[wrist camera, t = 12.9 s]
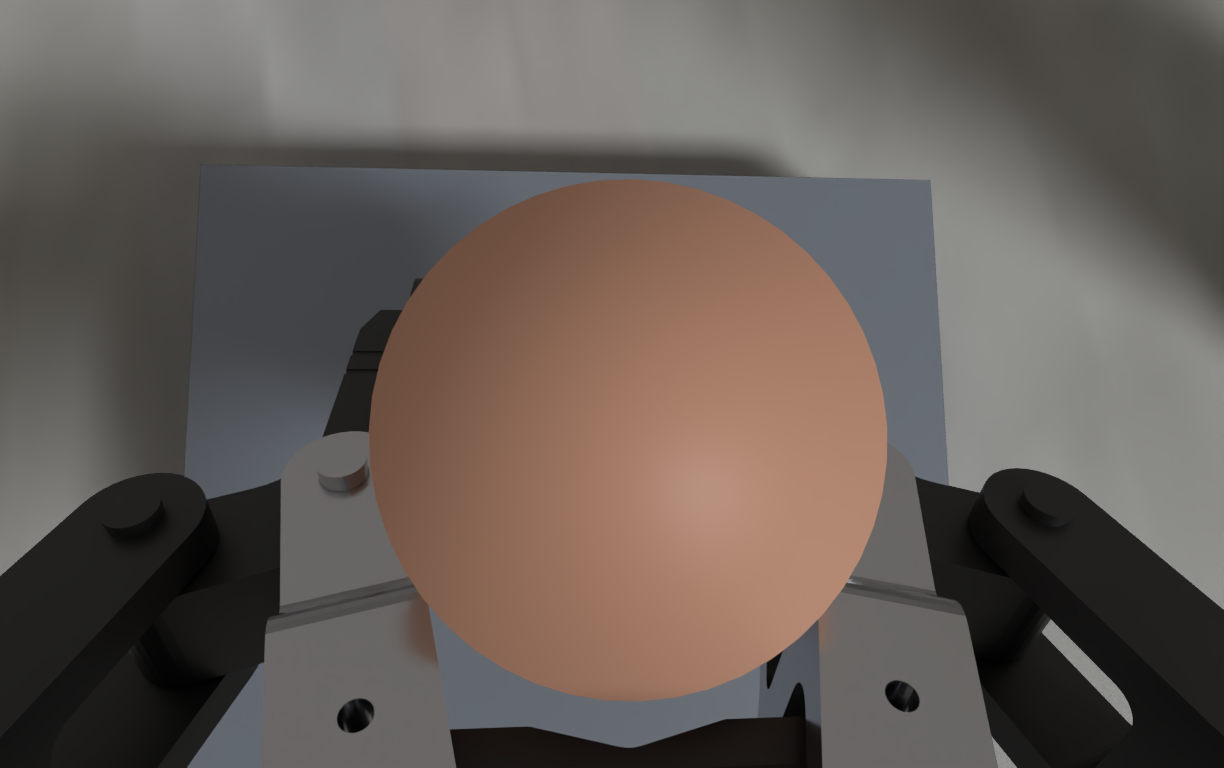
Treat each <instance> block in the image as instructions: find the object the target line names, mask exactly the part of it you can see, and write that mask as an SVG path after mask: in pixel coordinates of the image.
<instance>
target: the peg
mask: <svg viewBox="0 0 1224 768" xmlns="http://www.w3.org/2000/svg"><path fill="white" fill-rule="evenodd" d="M369 450H370V469H371V474H372V480H373V486H374V491H375V497H376V502H377V505H378V508H379V512H380V515H381V518H382V521H383V524H384V527H385V530H386V533H387V536H388V538H389V540H390V543H391V545H392V547H393V549H394V551H395V553H396V555H397V557H398V559H399V561H400V563H401V566H402V568H403V569H404V571H405V572H406V574H407V575H408V577H409V578H410V580H411V581H412V583H413V584H414V586H415V588H416V589H417V591H418V592H419V594H420V595H421V597H422V598H423V599H424V600H425V602H426V603H427V604H428V605H429V606H430V607H431V608H432V610H433V611H434V612H435V613H436V614H437V615H438V616H439V618H440V619H441V620H442V621H443V622H444V623H445V624H446V626H448V627H449V628H450V629H451V630H452V631H453V632H454V633H456V634H457V635H458V636H459V637H460V638H461V639H463V640H464V641H465V642H466V643H467V644H468V645H469V646H471V647H472V648H473V649H474V650H476V651H477V652H479V653H480V654H482V655H483V656H485V657H487V658H488V659H490V660H491V661H493V662H494V663H496V664H497V665H499V666H500V667H502V668H503V669H505V670H508V671H510V672H512V673H514V674H516V675H518V676H520V677H522V678H524V679H527V680H529V681H531V682H533V683H535V684H538V685H541V686H544V687H547V688H551V689H554V690H557V691H560V692H563V693H567V694H570V695H576V696H582V697H588V698H594V699H599V700H608V701H649V700H658V699H667V698H676V697H680V696H684V695H688V694H692V693H696V692H700V691H704V690H708V689H711V688H713V687H716V686H718V685H721V684H723V683H726V682H728V681H731V680H733V679H736V678H738V677H741V676H743V675H745V674H746V673H748V672H750V671H752V670H753V669H755V668H757V667H759V666H760V665H762V664H764V663H766V662H767V661H769V660H771V659H772V658H774V657H775V656H776V655H778V654H779V653H780V652H782V651H783V650H784V649H786V648H787V647H788V646H789V645H791V644H792V643H793V642H795V641H796V640H797V639H799V638H800V637H801V636H802V635H803V634H804V633H805V632H806V631H807V630H808V629H809V628H810V627H811V626H812V625H813V624H814V623H815V622H816V621H817V620H818V619H819V618H820V617H821V616H822V615H823V614H824V612H825V611H826V610H827V608H828V607H829V606H830V605H831V603H832V602H833V601H834V599H835V598H836V597H837V595H838V594H839V593H840V591H841V590H842V589H843V588H844V586H845V584H846V583H847V581H848V579H849V577H850V576H851V574H852V572H853V570H854V569H855V567H856V565H857V563H858V562H859V560H860V558H861V556H862V554H863V551H864V549H865V546H866V544H867V542H868V539H869V537H870V534H871V532H872V529H873V527H874V524H875V520H876V516H877V512H878V509H879V505H880V501H881V498H882V494H883V486H884V479H885V472H886V464H887V422H886V413H885V405H884V396H883V392H882V388H881V383H880V379H879V375H878V371H877V367H876V363H875V361H874V358H873V355H872V353H871V350H870V348H869V345H868V342H867V340H866V337H865V335H864V332H863V330H862V328H861V326H860V325H859V323H858V321H857V319H856V317H855V315H854V313H853V312H852V310H851V308H850V306H849V304H848V302H847V301H846V300H845V298H844V297H843V295H842V294H841V293H840V291H839V290H838V288H837V287H836V286H835V284H834V283H833V281H832V280H831V278H830V277H829V276H828V275H827V274H826V273H825V271H824V270H823V269H822V268H821V267H820V266H819V265H818V264H817V263H816V262H815V260H814V259H813V258H812V257H811V256H810V255H809V254H808V253H807V252H806V251H805V250H804V249H802V248H801V247H800V246H799V245H798V244H797V243H795V242H794V241H793V240H792V239H791V238H790V237H788V236H787V235H786V234H785V233H784V232H783V231H781V230H780V229H778V228H777V227H775V226H774V225H772V224H771V223H769V222H768V221H766V220H764V219H763V218H761V217H760V216H758V215H757V214H755V213H753V212H751V211H749V210H747V209H745V208H743V207H741V206H739V205H737V204H735V203H733V202H731V201H729V200H727V199H724V198H722V197H719V196H716V195H713V194H710V193H707V192H704V191H701V190H699V189H696V188H691V187H686V186H682V185H677V184H672V183H668V182H661V181H649V180H637V179H621V180H599V181H593V182H587V183H581V184H575V185H569V186H565V187H562V188H558V189H555V190H552V191H549V192H545V193H542V194H539V195H536V196H533V197H531V198H529V199H527V200H524V201H522V202H520V203H518V204H516V205H513V206H511V207H509V208H507V209H505V210H503V211H502V212H500V213H498V214H497V215H495V216H494V217H492V218H490V219H489V220H487V221H485V222H484V223H482V224H481V225H479V226H477V227H476V228H475V229H474V230H472V231H471V232H470V233H469V234H468V235H466V236H465V237H464V238H463V239H461V240H460V241H459V242H458V243H457V244H455V245H454V246H453V247H452V248H451V249H450V250H449V251H448V252H447V253H446V254H445V255H444V256H443V257H442V258H441V259H440V260H439V261H438V262H437V263H436V265H435V266H434V267H433V268H432V269H431V270H430V271H429V272H428V273H427V275H426V276H425V277H424V279H423V280H422V282H421V283H420V284H419V286H418V287H417V288H416V290H415V291H414V293H413V294H412V295H411V297H410V298H409V300H408V301H407V303H406V305H405V307H404V309H403V311H402V312H401V314H400V316H399V318H398V320H397V322H396V324H395V326H394V327H393V329H392V331H391V334H390V337H389V339H388V342H387V345H386V348H385V350H384V353H383V356H382V358H381V361H380V364H379V368H378V373H377V377H376V381H375V386H374V390H373V394H372V402H371V413H370V423H369Z"/></svg>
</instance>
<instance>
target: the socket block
mask: <svg viewBox="0 0 1224 768" xmlns="http://www.w3.org/2000/svg"><path fill="white" fill-rule="evenodd" d="M621 179H637V180H649V181H661V182H668V183H672V184H677V185H682V186H686V187H691V188H696V189H699V190H701V191H704V192H707V193H710V194H713V195H716V196H719V197H722V198H724V199H727V200H729V201H731V202H733V203H735V204H737V205H739V206H741V207H743V208H745V209H747V210H749V211H751V212H753V213H755V214H757V215H758V216H760V217H761V218H763V219H764V220H766V221H768V222H769V223H771V224H772V225H774V226H775V227H777V228H778V229H780V230H781V231H783V232H784V233H785V234H786V235H787V236H788V237H790V238H791V239H792V240H793V241H794V242H795V243H797V244H798V245H799V246H800V247H801V248H802V249H804V250H805V251H806V252H807V253H808V254H809V255H810V256H811V257H812V258H813V259H814V260H815V262H816V263H817V264H818V265H819V266H820V267H821V268H822V269H823V270H824V271H825V273H826V274H827V275H828V276H829V277H830V278H831V280H832V281H833V283H834V284H835V286H836V287H837V288H838V290H839V291H840V293H841V294H842V295H843V297H844V298H845V300H846V301H847V302H848V304H849V306H850V308H851V310H852V312H853V313H854V315H855V317H856V319H857V321H858V323H859V325H860V326H861V328H862V330H863V332H864V335H865V337H866V340H867V342H868V345H869V348H870V350H871V353H872V355H873V358H874V361H875V363H876V367H877V371H878V375H879V379H880V383H881V388H882V392H883V396H884V405H885V413H886V422H887V443H889V444H890V445H892V446H893V447H895V448H896V449H897V450H898V451H899V452H900V453H902V454H903V455H904V456H905V458H906V459H907V460H908V462H909V463H910V465H911V467H912V469H913V471H914V475H915V476H916V477H918V478H921V479H924V480H927V481H931V482H935V483H939V484H943V485H948V486H949V482H948V465H947V448H946V432H945V415H944V398H943V381H942V365H941V348H940V331H939V314H938V298H937V281H936V264H935V247H934V231H933V214H932V197H931V180H904V179H857V178H810V177H764V176H717V175H670V174H624V173H577V172H530V171H484V170H437V169H390V168H344V167H297V166H250V165H203V164H201V168H200V187H199V206H198V225H197V244H196V263H195V281H194V300H193V319H192V338H191V357H190V376H189V395H188V414H187V433H186V451H185V470H184V477H187V478H189V479H191V480H193V481H194V482H196V483H197V484H198V485H199V486H200V487H201V488H202V490H203V492H204V494H205V496H206V499H211V498H215V497H219V496H223V495H228V494H232V493H236V492H240V491H244V490H248V489H253V488H256V487H260V486H263V485H267V484H269V483H272V482H274V481H277V480H279V479H281V477H282V473H283V470H284V468H285V466H286V464H287V463H288V461H289V460H290V459H291V458H292V457H293V455H294V454H295V453H297V452H298V451H299V450H300V449H302V448H303V447H304V446H306V445H308V444H309V443H311V442H313V441H315V440H317V439H319V438H322V437H323V434H324V431H325V428H326V425H327V422H328V419H329V417H330V414H331V411H332V408H333V405H334V402H335V399H336V396H337V394H338V391H339V388H340V385H341V382H342V379H343V376H344V374H346V368H347V365H348V362H349V359H350V356H351V355H353V348H354V345H355V342H356V339H357V336H358V334H359V331H360V328H362V327H363V326H364V325H365V324H366V323H367V322H368V321H369V320H370V319H371V318H372V317H374V316H375V315H376V314H377V313H378V312H379V311H380V310H403V309H404V307H405V305H406V303H407V301H408V300H409V298H410V294H411V291H412V287H413V283H414V280H415V279H416V278H424V277H425V276H426V275H427V273H428V272H429V271H430V270H431V269H432V268H433V267H434V266H435V265H436V263H437V262H438V261H439V260H440V259H441V258H442V257H443V256H444V255H445V254H446V253H447V252H448V251H449V250H450V249H451V248H452V247H453V246H454V245H455V244H457V243H458V242H459V241H460V240H461V239H463V238H464V237H465V236H466V235H468V234H469V233H470V232H471V231H472V230H474V229H475V228H476V227H477V226H479V225H481V224H482V223H484V222H485V221H487V220H489V219H490V218H492V217H494V216H495V215H497V214H498V213H500V212H502V211H503V210H505V209H507V208H509V207H511V206H513V205H516V204H518V203H520V202H522V201H524V200H527V199H529V198H531V197H533V196H536V195H539V194H542V193H545V192H549V191H552V190H555V189H558V188H562V187H565V186H569V185H575V184H581V183H587V182H593V181H599V180H621ZM428 606H429V605H428ZM429 612H430V618H431V623H432V629H433V635H434V641H435V647H436V653H437V658H438V664H439V670H440V676H441V682H442V688H443V693H444V699H445V705H446V711H447V717H448V723H449V728H450V729H473V728H499V727H526V726H529V727H534V728H538V729H543V730H547V731H552V732H556V733H561V734H565V735H569V736H574V737H578V738H583V739H587V740H592V741H596V742H601V743H605V744H610V745H614V746H618V747H625V748H633V747H638V746H642V745H645V744H649V743H652V742H655V741H658V740H661V739H664V738H667V737H671V736H674V735H677V734H680V733H683V732H686V731H689V730H693V729H696V728H699V727H702V726H705V725H708V724H711V723H715V722H718V721H721V720H724V719H740V718H757V715H758V706H759V689H760V666H759V667H757V668H755V669H753V670H752V671H750V672H748V673H746V674H745V675H743V676H741V677H738V678H736V679H733V680H731V681H728V682H726V683H723V684H721V685H718V686H716V687H713V688H711V689H708V690H704V691H700V692H696V693H692V694H688V695H684V696H680V697H676V698H667V699H658V700H649V701H608V700H599V699H594V698H588V697H582V696H576V695H570V694H567V693H563V692H560V691H557V690H554V689H551V688H547V687H544V686H541V685H538V684H535V683H533V682H531V681H529V680H527V679H524V678H522V677H520V676H518V675H516V674H514V673H512V672H510V671H508V670H505V669H503V668H502V667H500V666H499V665H497V664H496V663H494V662H493V661H491V660H490V659H488V658H487V657H485V656H483V655H482V654H480V653H479V652H477V651H476V650H474V649H473V648H472V647H471V646H469V645H468V644H467V643H466V642H465V641H464V640H463V639H461V638H460V637H459V636H458V635H457V634H456V633H454V632H453V631H452V630H451V629H450V628H449V627H448V626H446V624H445V623H444V622H443V621H442V620H441V619H440V618H439V616H438V615H437V614H436V613H435V612H434V611H433V610H432V608H431V607H430V606H429ZM263 696H264V663H261V664H259V665H258V667H257V669H256V670H255V672H254V674H253V675H252V677H251V678H250V679H249V681H248V682H247V684H246V685H245V686H244V688H243V689H242V691H241V692H240V693H239V695H238V696H237V698H236V699H235V700H234V702H233V703H232V705H231V706H230V708H229V709H228V710H227V712H226V713H225V715H224V716H223V717H222V719H221V720H220V722H219V723H218V724H217V726H216V727H215V729H214V730H213V731H212V733H211V734H210V736H209V737H208V739H207V740H206V741H205V743H204V744H203V746H202V747H201V748H200V750H199V751H198V753H197V754H196V755H195V757H194V758H193V760H192V761H191V762H190V764H189V765H188V767H187V768H262V738H263Z"/></svg>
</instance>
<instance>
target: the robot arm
mask: <svg viewBox="0 0 1224 768" xmlns="http://www.w3.org/2000/svg"><path fill="white" fill-rule="evenodd" d="M423 279H424V278H416V279H415V280H414V283H413V287H412V291H411V294H410V297H411V295H412V294H413V293H414V291H415V290H416V288H417V287H418V286H419V284H420V283H421V282H422V280H423ZM402 311H403V310H380V311H379V312H378V313H377V314H376V315H375V316H374V317H372V318H371V319H370V320H369V321H368V322H367V323H366V324H365V325H364V326H363V327H362V328H360V331H359V334H358V336H357V339H356V342H355V345H354V348H353V355H351V356H350V359H349V362H348V365H347V368H346V374H344V376H343V379H342V382H341V385H340V388H339V391H338V394H337V396H336V399H335V402H334V405H333V408H332V411H331V414H330V417H329V419H328V422H327V425H326V428H325V431H324V434H323V437H322V438H319V439H317V440H315V441H313V442H311V443H309V444H308V445H306V446H304V447H303V448H302V449H300V450H299V451H298V452H297V453H295V454H294V455H293V457H292V458H291V459H290V460H289V461H288V463H287V464H286V466H285V468H284V470H283V473H282V477H281V479H279V480H277V481H274V482H272V483H269V484H267V485H263V486H260V487H256V488H253V489H248V490H244V491H240V492H236V493H232V494H228V495H223V496H219V497H215V498H211V499H206V496H205V494H204V492H203V490H202V488H201V487H200V486H199V485H198V484H197V483H196V482H194V481H193V480H191V479H189V478H187V477H184V476H181V475H176V474H171V473H155V474H146V475H141V476H136V477H133V478H129V479H126V480H123V481H120V482H118V483H115V484H113V485H111V486H109V487H107V488H105V489H103V490H101V491H100V492H98V493H96V494H95V495H93V496H92V497H90V498H89V499H88V500H87V501H85V502H84V503H83V504H82V505H80V506H79V507H78V508H77V509H76V510H75V511H74V512H72V513H71V514H70V515H69V516H68V517H67V518H66V519H65V520H63V521H62V522H61V523H60V524H59V525H58V526H57V527H55V528H54V529H53V530H52V531H51V532H50V533H49V534H48V535H46V536H45V537H44V538H43V539H42V540H41V541H40V542H39V543H37V544H36V545H35V546H34V547H33V548H32V549H31V550H29V551H28V552H27V553H26V554H25V555H24V556H23V557H22V558H20V559H19V560H18V561H17V562H16V563H15V564H14V565H12V566H11V567H10V568H9V569H8V570H7V571H6V572H5V573H3V574H2V575H1V576H0V768H187V767H188V765H189V764H190V762H191V761H192V760H193V758H194V757H195V755H196V754H197V753H198V751H199V750H200V748H201V747H202V746H203V744H204V743H205V741H206V740H207V739H208V737H209V736H210V734H211V733H212V731H213V730H214V729H215V727H216V726H217V724H218V723H219V722H220V720H221V719H222V717H223V716H224V715H225V713H226V712H227V710H228V709H229V708H230V706H231V705H232V703H233V702H234V700H235V699H236V698H237V696H238V695H239V693H240V692H241V691H242V689H243V688H244V686H245V685H246V684H247V682H248V681H249V679H250V678H251V677H252V675H253V674H254V672H255V670H256V669H257V667H258V665H259V664H261V663H264V696H263V738H262V768H998V765H997V760H996V756H995V751H994V746H993V741H992V737H993V738H994V739H995V741H996V742H997V743H998V744H999V746H1000V747H1001V748H1002V749H1003V751H1004V752H1005V753H1006V754H1007V756H1008V757H1009V758H1010V759H1011V760H1012V762H1013V763H1014V764H1015V765H1016V767H1017V768H1224V610H1223V609H1222V608H1221V607H1219V606H1218V605H1217V604H1216V603H1215V602H1213V601H1212V600H1211V599H1210V598H1209V597H1207V596H1206V595H1205V594H1204V593H1203V592H1201V591H1200V590H1199V589H1198V588H1197V587H1195V586H1194V585H1193V584H1192V583H1191V582H1189V581H1188V580H1187V579H1186V578H1185V577H1183V576H1182V575H1181V574H1180V573H1178V572H1177V571H1176V570H1175V569H1174V568H1172V567H1171V566H1170V565H1169V564H1168V563H1166V562H1165V561H1164V560H1163V559H1162V558H1160V557H1159V556H1158V555H1157V554H1156V553H1154V552H1153V551H1152V550H1151V549H1150V548H1148V547H1147V546H1146V545H1145V544H1144V543H1142V542H1141V541H1140V540H1139V539H1138V538H1136V537H1135V536H1134V535H1133V534H1132V533H1130V532H1129V531H1128V530H1127V529H1125V528H1124V527H1123V526H1122V525H1121V524H1119V523H1118V522H1117V521H1116V520H1115V519H1113V518H1112V517H1111V516H1110V515H1109V514H1107V513H1106V512H1105V511H1104V510H1103V509H1101V508H1100V507H1099V506H1098V505H1097V504H1095V503H1094V502H1093V501H1092V500H1091V499H1089V498H1088V497H1087V496H1086V495H1084V494H1083V493H1082V492H1080V491H1079V490H1078V489H1076V488H1075V487H1073V486H1072V485H1070V484H1068V483H1067V482H1065V481H1063V480H1061V479H1059V478H1056V477H1054V476H1051V475H1049V474H1046V473H1042V472H1039V471H1035V470H1029V469H1019V468H1015V469H1006V470H1001V471H999V472H996V473H994V474H993V475H992V476H990V477H989V478H988V480H987V481H986V483H985V484H984V486H983V488H982V490H981V492H980V493H978V492H974V491H969V490H965V489H961V488H956V487H952V486H948V485H943V484H939V483H935V482H931V481H927V480H924V479H921V478H918V477H916V476H915V475H914V471H913V469H912V467H911V465H910V463H909V462H908V460H907V459H906V458H905V456H904V455H903V454H902V453H900V452H899V451H898V450H897V449H896V448H895V447H893V446H892V445H890V444H889V443H887V464H886V472H885V479H884V486H883V494H882V498H881V501H880V505H879V509H878V512H877V516H876V520H875V524H874V527H873V529H872V532H871V534H870V537H869V539H868V542H867V544H866V546H865V549H864V551H863V554H862V556H861V558H860V560H859V562H858V563H857V565H856V567H855V569H854V570H853V572H852V574H851V576H850V577H849V579H848V581H847V583H846V584H845V586H844V588H843V589H842V590H841V591H840V593H839V594H838V595H837V597H836V598H835V599H834V601H833V602H832V603H831V605H830V606H829V607H828V608H827V610H826V611H825V612H824V614H823V615H822V616H821V617H820V618H819V619H818V620H817V621H816V622H815V623H814V624H813V625H812V626H811V627H810V628H809V629H808V630H807V631H806V632H805V633H804V634H803V635H802V636H801V637H800V638H799V639H797V640H796V641H795V642H793V643H792V644H791V645H789V646H788V647H787V648H786V649H784V650H783V651H782V652H780V653H779V654H778V655H776V656H775V657H774V658H772V659H771V660H769V661H767V662H766V663H764V664H762V665H760V689H759V706H758V715H757V718H740V719H724V720H721V721H718V722H715V723H711V724H708V725H705V726H702V727H699V728H696V729H693V730H689V731H686V732H683V733H680V734H677V735H674V736H671V737H667V738H664V739H661V740H658V741H655V742H652V743H649V744H645V745H642V746H638V747H633V748H625V747H618V746H614V745H610V744H605V743H601V742H596V741H592V740H587V739H583V738H578V737H574V736H569V735H565V734H561V733H556V732H552V731H547V730H543V729H538V728H534V727H529V726H526V727H499V728H473V729H450V728H449V723H448V717H447V711H446V705H445V699H444V693H443V688H442V682H441V676H440V670H439V664H438V658H437V653H436V647H435V641H434V635H433V629H432V623H431V618H430V612H429V606H428V604H427V603H426V602H425V600H424V599H423V598H422V597H421V595H420V594H419V592H418V591H417V589H416V588H415V586H414V584H413V583H412V581H411V580H410V578H409V577H408V575H407V574H406V572H405V571H404V569H403V568H402V566H401V563H400V561H399V559H398V557H397V555H396V553H395V551H394V549H393V547H392V545H391V543H390V540H389V538H388V536H387V533H386V530H385V527H384V524H383V521H382V518H381V515H380V512H379V508H378V505H377V502H376V497H375V491H374V486H373V480H372V474H371V469H370V450H369V423H370V413H371V402H372V394H373V390H374V386H375V381H376V377H377V373H378V368H379V364H380V361H381V358H382V356H383V353H384V350H385V348H386V345H387V342H388V339H389V337H390V334H391V331H392V329H393V327H394V326H395V324H396V322H397V320H398V318H399V316H400V314H401V312H402ZM1050 619H1051V620H1052V621H1053V622H1054V623H1055V624H1056V625H1057V626H1058V627H1059V628H1060V629H1061V630H1062V631H1063V632H1064V633H1065V634H1066V635H1067V636H1068V637H1069V638H1070V639H1071V640H1072V641H1073V642H1074V643H1075V644H1076V645H1077V646H1078V647H1079V648H1080V649H1081V650H1082V651H1083V652H1084V653H1085V654H1086V655H1087V656H1088V657H1089V658H1090V659H1091V660H1092V661H1093V662H1094V663H1095V664H1096V665H1097V666H1098V667H1099V668H1100V669H1101V670H1102V671H1103V672H1104V673H1105V674H1106V675H1107V676H1108V677H1109V678H1110V679H1111V680H1112V681H1113V682H1114V683H1115V684H1116V685H1117V687H1118V688H1119V689H1120V690H1121V691H1122V693H1123V694H1124V696H1125V697H1126V699H1127V701H1128V703H1129V705H1130V708H1131V711H1132V716H1133V725H1130V724H1129V723H1128V722H1127V721H1126V720H1125V719H1124V718H1123V717H1122V716H1121V715H1120V714H1119V712H1118V711H1117V710H1116V709H1115V708H1114V707H1113V706H1112V705H1111V704H1110V703H1109V702H1108V701H1107V700H1106V699H1105V698H1104V697H1103V696H1102V695H1101V694H1100V693H1099V692H1098V691H1097V690H1096V689H1095V688H1094V687H1093V685H1092V684H1091V683H1090V682H1089V681H1088V680H1087V679H1086V678H1085V677H1084V676H1083V675H1082V674H1081V673H1080V672H1079V671H1078V670H1077V669H1076V668H1075V667H1074V666H1073V665H1072V664H1071V663H1070V662H1069V661H1068V660H1067V658H1066V657H1065V656H1064V655H1063V654H1062V653H1061V652H1060V651H1059V650H1058V649H1057V648H1056V647H1055V646H1054V645H1053V644H1052V643H1051V642H1050V641H1049V640H1048V639H1047V638H1046V637H1045V636H1044V635H1043V634H1042V633H1041V632H1042V631H1043V629H1044V628H1045V627H1046V625H1047V624H1048V622H1049V621H1050ZM991 736H992V737H991Z"/></svg>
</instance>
